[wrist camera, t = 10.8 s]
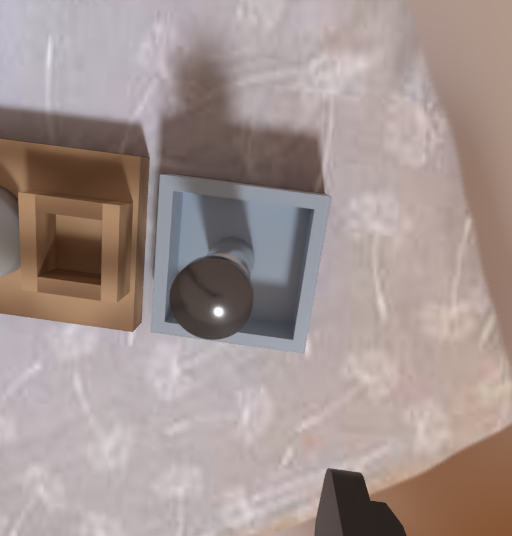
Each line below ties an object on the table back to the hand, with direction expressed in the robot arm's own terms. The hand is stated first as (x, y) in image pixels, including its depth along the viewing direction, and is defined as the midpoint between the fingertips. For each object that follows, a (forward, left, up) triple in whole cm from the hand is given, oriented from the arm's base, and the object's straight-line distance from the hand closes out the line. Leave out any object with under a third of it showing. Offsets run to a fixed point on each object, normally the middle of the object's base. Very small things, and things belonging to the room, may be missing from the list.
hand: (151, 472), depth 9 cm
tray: (0, 0, -23) cm, 23 cm away
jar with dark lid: (0, -1, -22) cm, 22 cm away
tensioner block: (0, -16, -23) cm, 28 cm away
